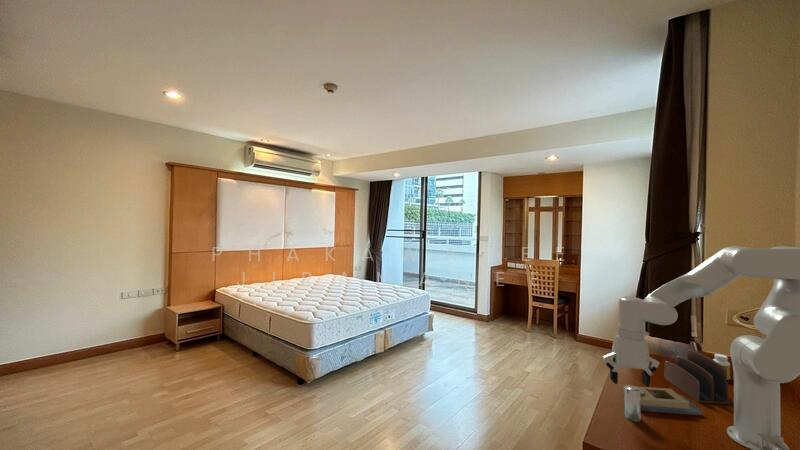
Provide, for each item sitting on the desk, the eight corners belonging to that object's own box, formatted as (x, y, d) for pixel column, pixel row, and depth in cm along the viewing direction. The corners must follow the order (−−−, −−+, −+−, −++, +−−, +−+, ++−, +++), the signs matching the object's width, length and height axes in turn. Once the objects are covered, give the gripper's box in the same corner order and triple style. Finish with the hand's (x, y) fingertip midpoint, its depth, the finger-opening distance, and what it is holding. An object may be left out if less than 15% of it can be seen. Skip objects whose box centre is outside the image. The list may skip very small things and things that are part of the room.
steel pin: (643, 422, 109) (643, 392, 109) (628, 420, 110) (628, 391, 110) (636, 414, 113) (635, 385, 113) (622, 413, 114) (622, 384, 114)
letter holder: (689, 379, 138) (689, 346, 139) (729, 405, 119) (729, 366, 119) (663, 378, 140) (663, 345, 140) (698, 403, 120) (698, 365, 120)
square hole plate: (682, 400, 122) (682, 386, 122) (701, 415, 112) (701, 401, 112) (623, 395, 126) (623, 382, 126) (637, 410, 116) (637, 396, 116)
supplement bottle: (731, 382, 136) (731, 359, 136) (713, 379, 139) (713, 356, 139) (728, 377, 140) (728, 355, 140) (711, 374, 143) (711, 352, 143)
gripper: (652, 332, 114) (651, 380, 114) (598, 328, 117) (597, 376, 117) (666, 339, 107) (664, 391, 107) (608, 335, 109) (607, 386, 110)
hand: (629, 383), depth 112 cm, fingers open, 9 cm apart
